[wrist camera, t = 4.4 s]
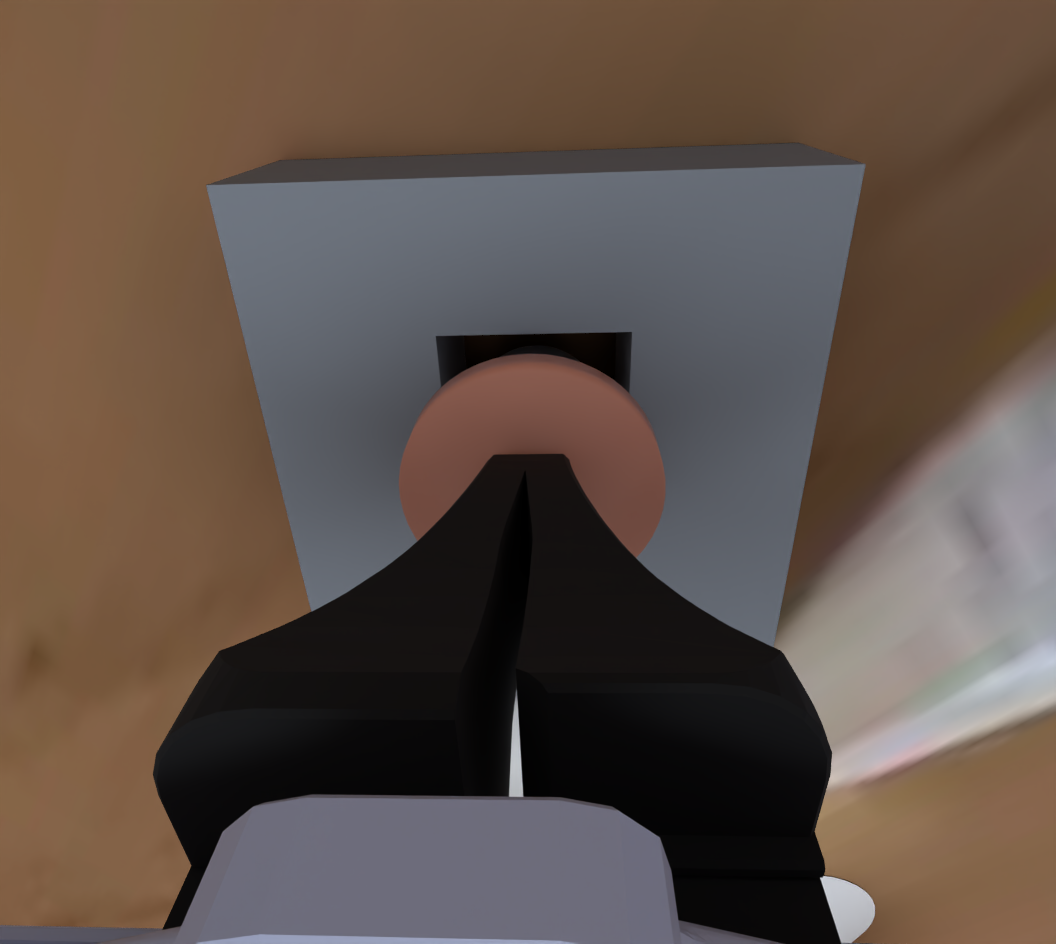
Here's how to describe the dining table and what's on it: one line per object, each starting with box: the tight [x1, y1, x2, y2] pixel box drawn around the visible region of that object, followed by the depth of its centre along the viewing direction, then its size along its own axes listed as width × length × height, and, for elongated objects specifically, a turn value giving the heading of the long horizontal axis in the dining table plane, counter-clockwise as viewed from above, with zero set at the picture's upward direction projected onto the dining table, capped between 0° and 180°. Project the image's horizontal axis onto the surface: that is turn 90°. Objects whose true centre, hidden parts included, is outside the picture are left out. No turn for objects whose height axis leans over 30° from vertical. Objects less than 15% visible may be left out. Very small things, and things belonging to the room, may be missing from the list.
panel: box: [206, 143, 865, 647], centre depth 19 cm, size 12×20×4 cm, turn 2°
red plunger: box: [399, 345, 665, 557], centre depth 14 cm, size 5×5×4 cm
